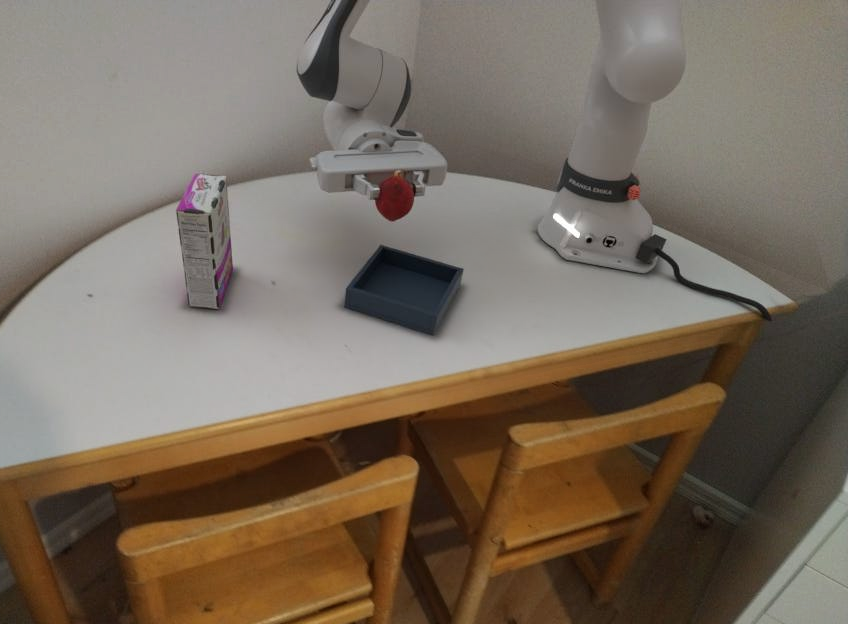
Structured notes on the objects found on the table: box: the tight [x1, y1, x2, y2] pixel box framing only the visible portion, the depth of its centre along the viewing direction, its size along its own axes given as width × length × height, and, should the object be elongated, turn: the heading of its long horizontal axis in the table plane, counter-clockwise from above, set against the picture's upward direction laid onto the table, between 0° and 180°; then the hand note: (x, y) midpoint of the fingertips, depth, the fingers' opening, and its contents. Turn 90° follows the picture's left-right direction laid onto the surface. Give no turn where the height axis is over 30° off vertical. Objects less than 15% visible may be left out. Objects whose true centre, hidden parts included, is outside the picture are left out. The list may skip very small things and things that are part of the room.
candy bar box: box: [175, 173, 234, 310], centre depth 94 cm, size 11×5×16 cm, turn 179°
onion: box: [374, 170, 415, 223], centre depth 94 cm, size 6×6×8 cm
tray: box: [344, 244, 464, 336], centre depth 101 cm, size 15×15×4 cm
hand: (398, 193), depth 93 cm, fingers closed on onion, 6 cm apart
